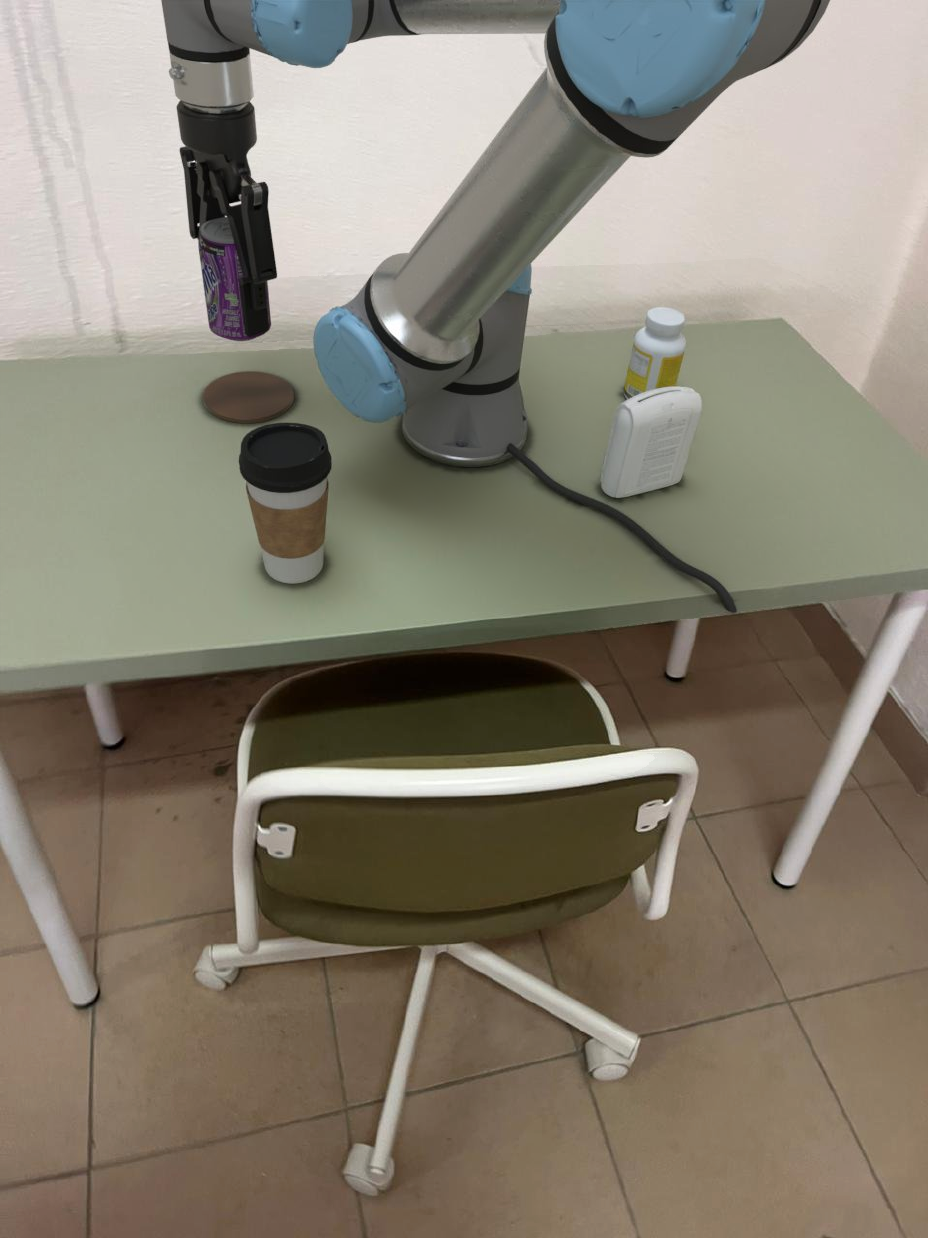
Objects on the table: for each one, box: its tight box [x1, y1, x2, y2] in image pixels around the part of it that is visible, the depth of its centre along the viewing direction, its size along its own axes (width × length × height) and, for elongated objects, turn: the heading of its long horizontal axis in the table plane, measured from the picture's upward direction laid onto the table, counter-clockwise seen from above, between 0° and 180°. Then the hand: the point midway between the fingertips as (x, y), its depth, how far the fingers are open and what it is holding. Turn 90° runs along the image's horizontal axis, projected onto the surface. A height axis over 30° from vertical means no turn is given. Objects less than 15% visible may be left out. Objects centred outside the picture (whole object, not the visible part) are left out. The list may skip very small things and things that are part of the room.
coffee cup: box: [238, 422, 333, 585], centre depth 88 cm, size 8×8×15 cm
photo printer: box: [599, 385, 703, 499], centre depth 102 cm, size 10×4×12 cm, turn 117°
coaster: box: [202, 370, 295, 424], centre depth 113 cm, size 11×11×1 cm
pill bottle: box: [623, 306, 687, 400], centre depth 116 cm, size 6×6×12 cm
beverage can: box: [197, 216, 272, 342], centre depth 103 cm, size 7×7×12 cm
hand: (239, 318), depth 106 cm, fingers closed on beverage can, 7 cm apart
